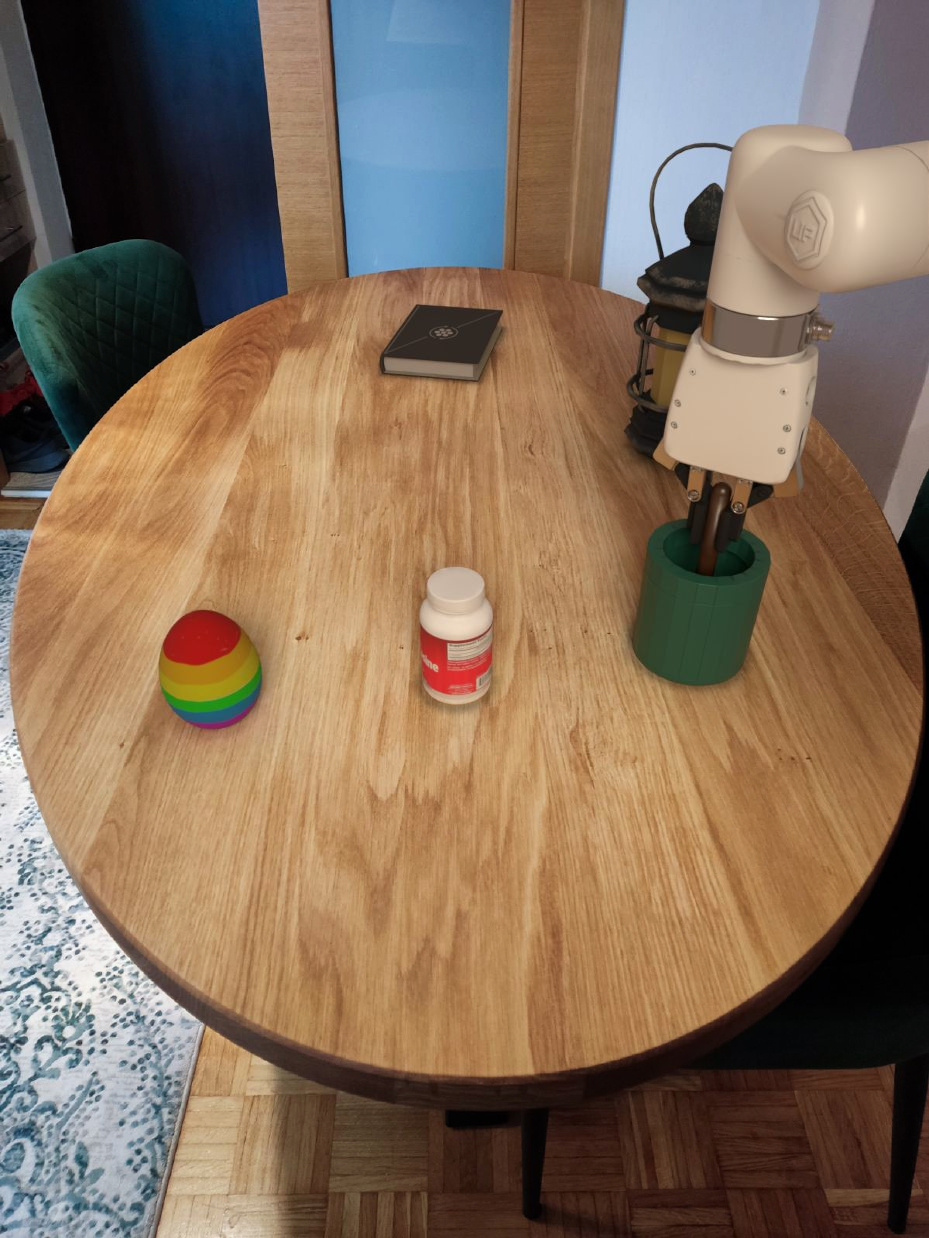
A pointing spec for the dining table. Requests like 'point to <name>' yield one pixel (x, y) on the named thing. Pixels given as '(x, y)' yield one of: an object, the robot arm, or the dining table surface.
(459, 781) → the dining table surface
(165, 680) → the decorative egg
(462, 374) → the book
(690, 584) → the jar
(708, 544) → the brown pestle
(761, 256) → the robot arm
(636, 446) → the lantern
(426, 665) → the pill bottle
